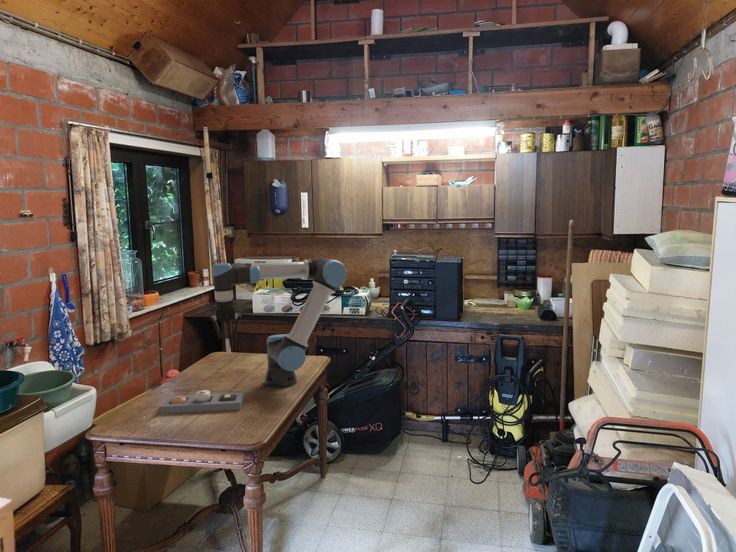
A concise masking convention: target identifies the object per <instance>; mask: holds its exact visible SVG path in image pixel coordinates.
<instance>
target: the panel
mask: <svg viewBox="0 0 736 552" xmlns="http://www.w3.org/2000/svg"><path fill="white" fill-rule="evenodd" d="M223 394H224V393H210V395H211V400H210V401H209V402H201V403H197V402H196V394H191V395H190V394H189V395H187V394H186V395H184V396H185V397H186V403H182V404H171V399H172V398H173V397H176V396H177V395H169V396H166V398H165V399H164V401H163V402H162V404H161V405H160V407H159V409H160V415H164V414H182V413H201V412H204V413H205V412H217V411H219V412H220V411H221V412H222V411H236V410H237V411H239V410H242V406H243V403H244V400H245V398H244V397H245V395H244V394H245V393H244V392H229V393H225V394H234V395H235V401H221V402H220V396H221V395H223Z"/></svg>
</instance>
